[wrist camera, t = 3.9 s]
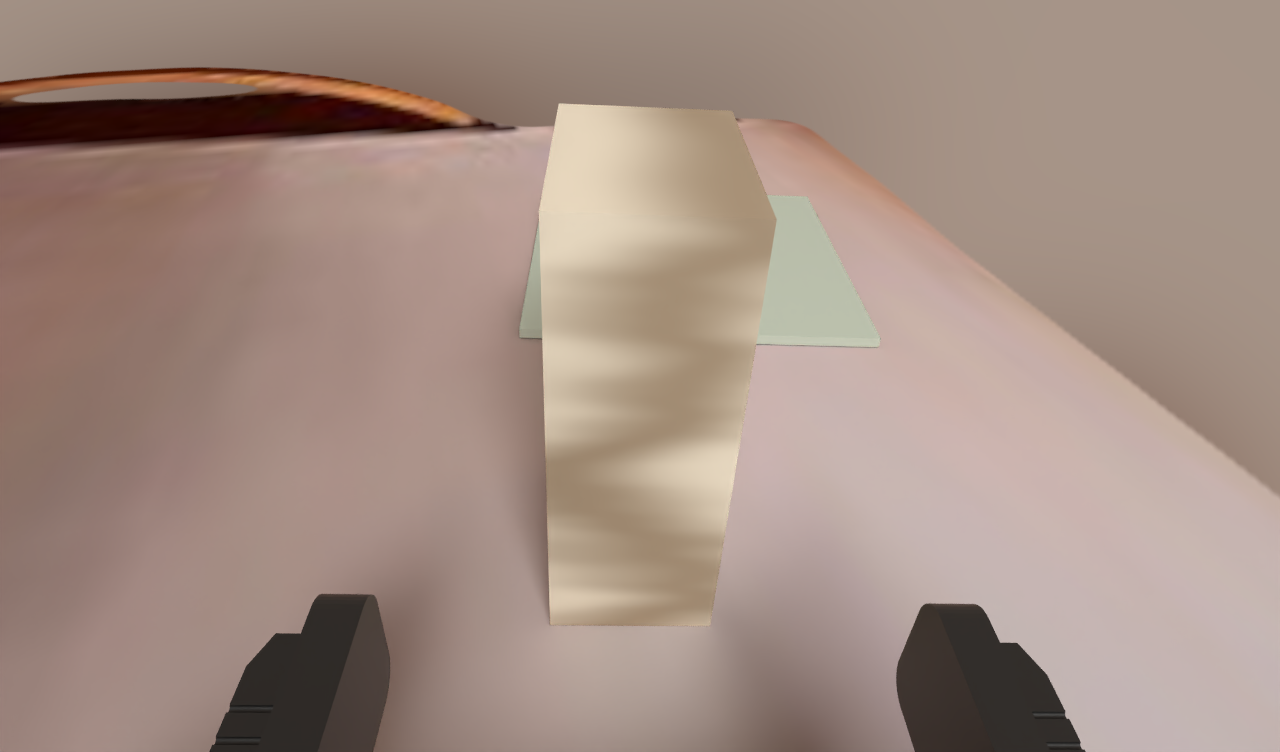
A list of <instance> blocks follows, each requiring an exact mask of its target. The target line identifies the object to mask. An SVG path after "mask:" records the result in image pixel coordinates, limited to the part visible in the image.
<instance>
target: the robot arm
mask: <svg viewBox="0 0 1280 752" xmlns="http://www.w3.org/2000/svg"><path fill="white" fill-rule="evenodd" d="M389 679H390V657H389V652H388V647H387V643H386V638H385V634H384V630H383V625H382V621H381V616H380V612H379V607H378V603H377V600H376V597H375V596H374V595H364V594H320V595H319V596H317V598H316V599H315V600H314V602H313V604H312V606H311V609H310V611H309V614H308V616H307V619H306V622H305V624H304V627H303V630H302V632H301V634H280V633H276V634H275V635H274V636H273V637H272V638H271V639H270V641H269V642H268V643H267V644H266V645H265V646H264V647H263V648H262V649H261V651H260V652H259V653H258V654H257V655H256V656H255V657H254V658H253V659H252V661H251V662H250V663H249V664H248V665H247V666H246V668H245V670H244V673H243V675H242V677H241V680H240V682H239V684H238V687H237V689H236V691H235V694H234V696H233V698H232V701H231V703H230V710H229V712H228V713H226V714H225V717H224V719H223V721H222V724H221V726H220V728H219V731H218V733H217V735H216V742H215V744H214V745H212V747H211V749H210V752H373V749H374V745H375V742H376V738H377V734H378V730H379V726H380V722H381V718H382V714H383V710H384V707H385V703H386V698H387V693H388V687H389ZM896 682H897V693H898V698H899V703H900V706H901V710H902V713H903V716H904V719H905V722H906V725H907V728H908V731H909V734H910V738H911V741H912V744H913V747H914V750H915V752H1085V750H1082V749H1081V747H1080V740H1079V738H1078V736H1077V734H1076V732H1075V730H1074V728H1073V726H1072V724H1071V722H1070V720H1069V719H1066V717H1065V710H1064V708H1063V706H1062V704H1061V702H1060V700H1059V698H1058V696H1057V694H1056V692H1055V690H1054V688H1053V686H1052V684H1051V682H1050V680H1049V678H1048V676H1047V674H1046V673H1045V672H1044V671H1043V670H1042V669H1041V668H1040V667H1039V666H1038V665H1037V664H1036V663H1035V662H1034V660H1033V659H1032V658H1031V657H1030V656H1029V655H1028V654H1027V653H1026V652H1025V651H1024V650H1023V649H1022V648H1021V647H1020V645H1019V644H1018V643H1000V642H999V640H998V638H997V635H996V633H995V631H994V629H993V627H992V625H991V623H990V620H989V618H988V616H987V615H986V613H985V612H984V610H983V609H982V608H981V607H980V606H978V605H976V604H925V605H923V606H922V607H921V609H920V611H919V614H918V616H917V618H916V621H915V623H914V626H913V628H912V630H911V633H910V635H909V637H908V640H907V642H906V645H905V647H904V649H903V652H902V654H901V657H900V659H899V662H898V666H897V675H896Z"/></svg>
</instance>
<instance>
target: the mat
mask: <svg viewBox="0 0 1280 752" xmlns="http://www.w3.org/2000/svg"><path fill="white" fill-rule="evenodd" d="M767 197H768V199H769V202H770V204H771V207H772V209H773V211H774V214H775V216H776V219H777V222H776V228H775V234H774V240H773V246H772V252H771V258H770V264H769V270H768V276H767V282H766V288H765V294H764V300H763V307H762V313H761V319H760V325H759V331H758V337H757V343H756V344H774V345H812V346H849V347H879V343H880V340H881V338H880V336H879V334H878V332H877V330H876V328H875V327H874V325H873V323H872V321H871V319H870V317H869V315H868V313H867V311H866V309H865V307H864V305H863V303H862V301H861V299H860V298H859V296H858V294H857V292H856V290H855V288H854V286H853V284H852V282H851V280H850V278H849V276H848V274H847V272H846V270H845V269H844V267H843V265H842V263H841V261H840V259H839V257H838V255H837V253H836V251H835V249H834V247H833V245H832V243H831V241H830V240H829V238H828V236H827V234H826V232H825V230H824V228H823V226H822V224H821V222H820V220H819V218H818V216H817V214H816V212H815V211H814V209H813V207H812V205H811V203H810V201H809V199H808V197H802V196H775V195H767ZM519 335H520V338H542V309H541V272H540V235H539V223H538V228H537V234H536V239H535V245H534V250H533V256H532V261H531V267H530V272H529V278H528V283H527V289H526V294H525V300H524V305H523V311H522V316H521V322H520V327H519Z"/></svg>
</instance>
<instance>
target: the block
mask: <svg viewBox="0 0 1280 752" xmlns="http://www.w3.org/2000/svg"><path fill="white" fill-rule="evenodd" d="M776 222H777V219H776V216H775V214H774V211H773V209H772V207H771V204H770V202H769V199H768V197H767V194H766V192H765V190H764V187H763V185H762V182H761V180H760V177H759V175H758V173H757V170H756V168H755V165H754V163H753V160H752V158H751V156H750V153H749V151H748V148H747V146H746V143H745V141H744V139H743V136H742V134H741V131H740V129H739V126H738V124H737V122H736V119H735V117H734V114H733V112H732V111H719V110H697V109H673V108H649V107H626V106H602V105H579V104H559V106H558V111H557V117H556V123H555V127H554V133H553V138H552V143H551V149H550V154H549V160H548V165H547V170H546V176H545V181H544V186H543V192H542V197H541V202H540V208H539V235H540V272H541V309H542V346H543V383H544V420H545V457H546V494H547V531H548V568H549V605H550V625H617V626H710V622H711V616H712V610H713V604H714V598H715V592H716V586H717V580H718V574H719V568H720V561H721V555H722V549H723V543H724V537H725V531H726V525H727V519H728V513H729V507H730V501H731V495H732V489H733V483H734V476H735V470H736V464H737V458H738V452H739V446H740V440H741V434H742V428H743V422H744V416H745V410H746V404H747V398H748V392H749V385H750V379H751V373H752V367H753V361H754V355H755V349H756V343H757V337H758V331H759V325H760V319H761V313H762V307H763V300H764V294H765V288H766V282H767V276H768V270H769V264H770V258H771V252H772V246H773V240H774V234H775V228H776Z"/></svg>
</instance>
